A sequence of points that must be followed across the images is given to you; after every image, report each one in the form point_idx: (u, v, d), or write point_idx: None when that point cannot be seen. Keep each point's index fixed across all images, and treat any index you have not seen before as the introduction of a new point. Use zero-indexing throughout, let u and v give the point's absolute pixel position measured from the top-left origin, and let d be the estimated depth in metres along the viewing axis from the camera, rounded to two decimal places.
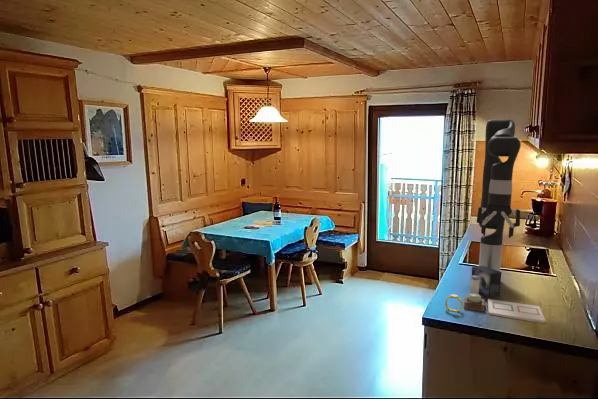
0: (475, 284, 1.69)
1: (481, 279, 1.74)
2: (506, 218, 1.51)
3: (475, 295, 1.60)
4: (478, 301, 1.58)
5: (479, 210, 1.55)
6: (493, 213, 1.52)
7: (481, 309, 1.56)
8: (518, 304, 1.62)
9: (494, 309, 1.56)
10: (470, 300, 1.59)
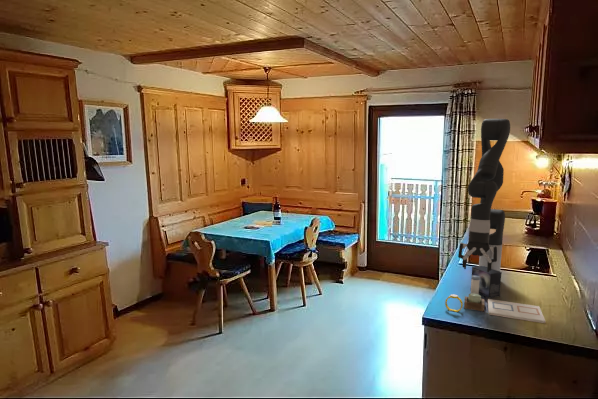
0: (475, 284, 1.69)
1: (481, 279, 1.74)
2: (484, 254, 1.66)
3: (475, 295, 1.60)
4: (478, 301, 1.58)
5: (460, 246, 1.70)
6: (473, 249, 1.67)
7: (481, 309, 1.56)
8: (518, 304, 1.62)
9: (494, 309, 1.56)
10: (470, 300, 1.59)
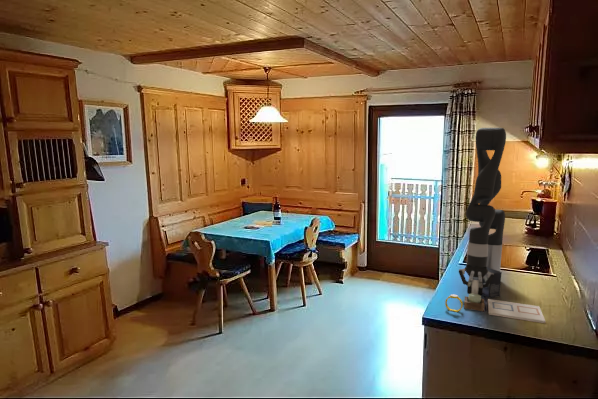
0: (475, 284, 1.69)
1: None
2: (480, 278, 1.67)
3: (475, 295, 1.60)
4: (478, 301, 1.58)
5: (460, 273, 1.71)
6: (472, 273, 1.68)
7: (481, 309, 1.56)
8: (518, 304, 1.62)
9: (494, 309, 1.56)
10: (470, 300, 1.59)
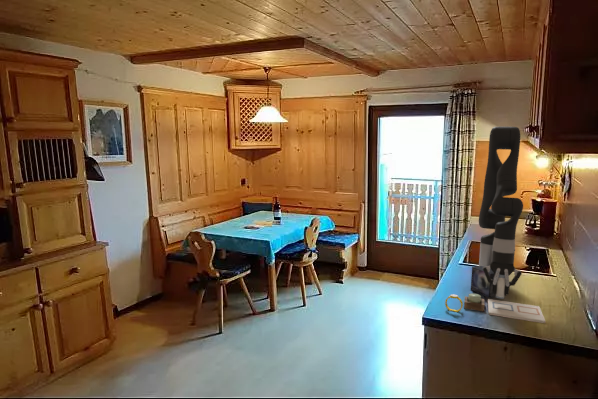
0: (501, 283, 1.58)
1: (481, 279, 1.74)
2: (506, 276, 1.57)
3: (475, 295, 1.60)
4: (478, 301, 1.58)
5: (484, 270, 1.60)
6: (497, 271, 1.58)
7: (481, 309, 1.56)
8: (518, 304, 1.62)
9: (494, 309, 1.56)
10: (470, 300, 1.59)
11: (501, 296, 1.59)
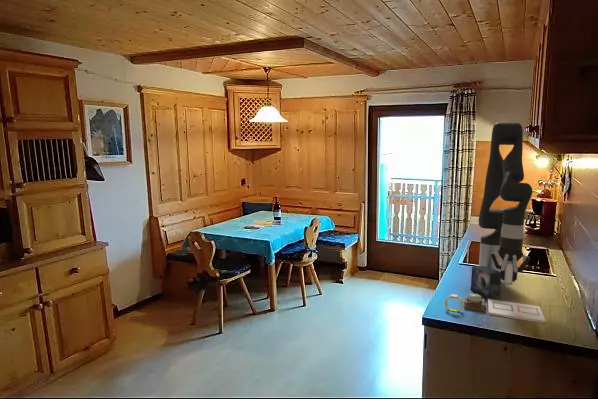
0: (509, 269, 1.57)
1: (481, 279, 1.74)
2: (514, 262, 1.56)
3: (475, 295, 1.60)
4: (478, 301, 1.58)
5: (492, 256, 1.59)
6: (506, 256, 1.57)
7: (481, 309, 1.56)
8: (518, 304, 1.62)
9: (494, 309, 1.56)
10: (470, 300, 1.59)
11: (509, 282, 1.58)
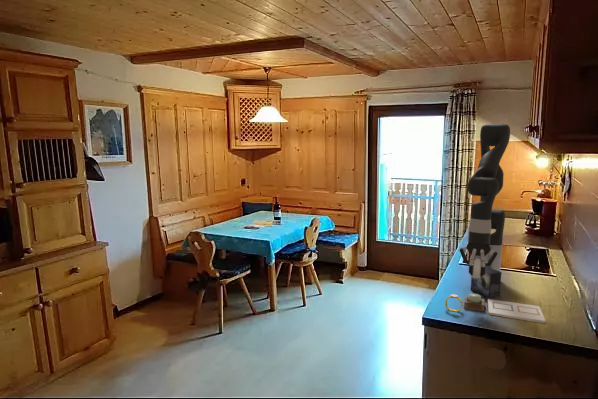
0: (477, 263, 1.57)
1: (481, 279, 1.74)
2: (482, 257, 1.56)
3: (475, 295, 1.60)
4: (478, 301, 1.58)
5: (461, 251, 1.59)
6: (473, 251, 1.57)
7: (481, 309, 1.56)
8: (518, 304, 1.62)
9: (494, 309, 1.56)
10: (470, 300, 1.59)
11: (477, 277, 1.58)
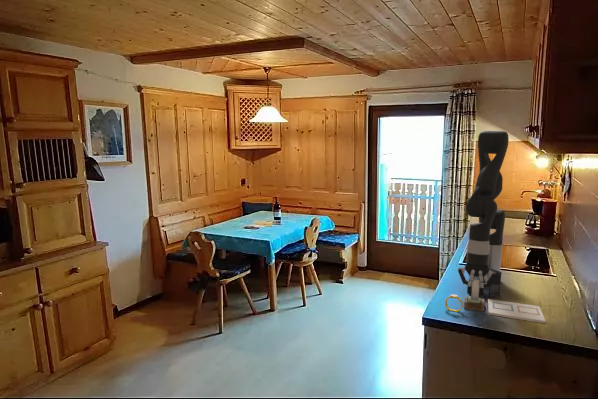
0: (475, 284, 1.58)
1: None
2: (480, 278, 1.57)
3: None
4: None
5: (459, 272, 1.60)
6: (472, 272, 1.58)
7: (481, 309, 1.56)
8: (518, 304, 1.62)
9: (494, 309, 1.56)
10: None
11: (476, 298, 1.58)
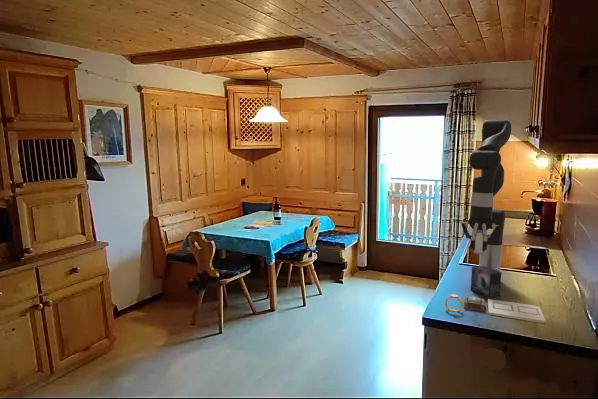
0: (479, 238, 1.56)
1: (481, 279, 1.74)
2: (484, 231, 1.55)
3: (475, 298, 1.60)
4: None
5: (463, 226, 1.58)
6: (475, 225, 1.56)
7: (481, 309, 1.56)
8: (518, 304, 1.62)
9: (494, 309, 1.56)
10: None
11: (479, 252, 1.56)
